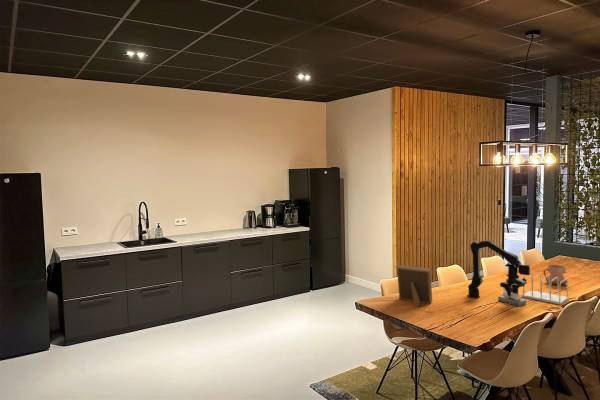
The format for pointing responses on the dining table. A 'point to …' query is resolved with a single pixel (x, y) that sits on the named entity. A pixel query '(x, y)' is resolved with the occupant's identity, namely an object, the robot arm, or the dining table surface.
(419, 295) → the photo frame
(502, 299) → the grey base block
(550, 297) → the file sorter
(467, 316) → the dining table surface
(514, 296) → the white arch block
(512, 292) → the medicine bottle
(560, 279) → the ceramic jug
